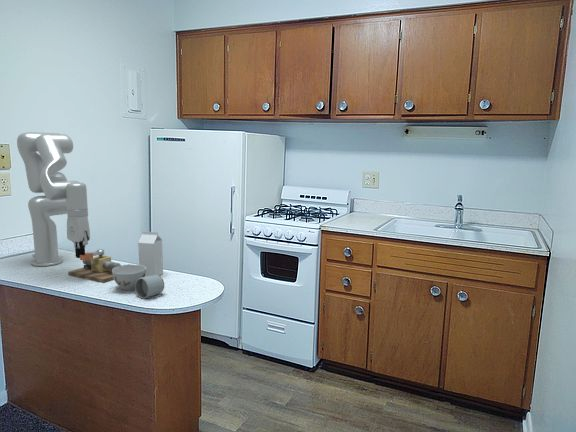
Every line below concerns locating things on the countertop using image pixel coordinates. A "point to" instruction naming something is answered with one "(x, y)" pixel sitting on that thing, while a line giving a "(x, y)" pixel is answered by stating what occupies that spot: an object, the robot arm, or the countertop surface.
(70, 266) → the countertop surface
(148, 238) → the milk carton
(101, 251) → the valve lever
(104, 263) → the stand
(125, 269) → the teacup
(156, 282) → the ceramic mug
